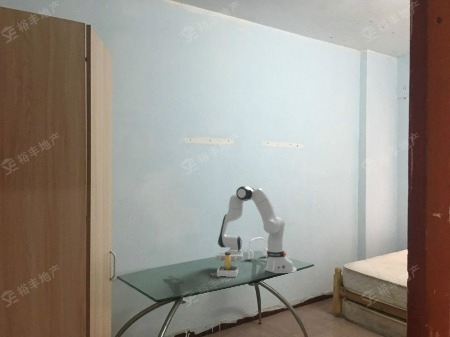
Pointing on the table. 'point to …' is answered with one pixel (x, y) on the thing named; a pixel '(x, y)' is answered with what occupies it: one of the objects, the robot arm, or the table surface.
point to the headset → (264, 249)
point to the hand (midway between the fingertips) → (227, 259)
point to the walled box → (228, 271)
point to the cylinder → (227, 261)
